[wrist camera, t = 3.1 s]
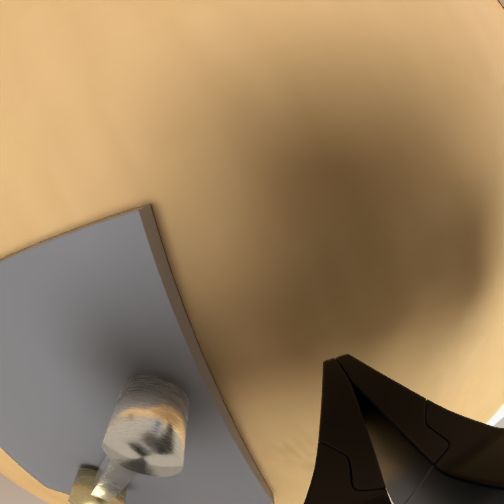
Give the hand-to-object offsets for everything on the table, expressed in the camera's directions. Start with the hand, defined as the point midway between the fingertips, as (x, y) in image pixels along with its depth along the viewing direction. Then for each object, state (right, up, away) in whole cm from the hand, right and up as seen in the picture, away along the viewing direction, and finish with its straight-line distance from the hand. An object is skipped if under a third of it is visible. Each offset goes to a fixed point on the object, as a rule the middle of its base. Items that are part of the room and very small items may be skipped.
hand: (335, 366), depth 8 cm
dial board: (-15, -8, +4) cm, 17 cm away
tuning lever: (-10, -7, +2) cm, 12 cm away
